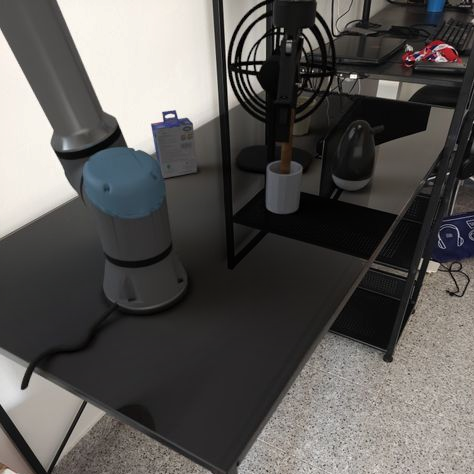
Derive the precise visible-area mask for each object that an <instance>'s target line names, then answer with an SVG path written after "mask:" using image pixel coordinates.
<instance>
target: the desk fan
mask: <svg viewBox="0 0 474 474" xmlns="http://www.w3.org/2000/svg"><path fill="white" fill-rule="evenodd" d="M274 1H275V0H262V1H260V2H258V3H257V4H255V5H254V6H253V7H252V8H251V9H249V10H248V11H247V12H246V13H245V14H244V15H243V16H242V17H241V19H240V20H239V22H238V23H237V25H236V27H235V29H234V31H233V33H232V35H231V38H230V41H229V45H228V50H227V61H226V66H227V75H228V80H229V84H230V87H231V90H232V92H233V94H234V96H235V98H236V100H237V102H238V103H239V105H240V106H241V107H242V108H243V109H244V111H245V112H247V113H248V114H249V115H250V116H251V117H253V118H254V119H255V120H258V121H259V122H261V123H263V124H266V125H267V127H268V128H267V144H255V145H248V146H246V147H243V148H242V149H240V151H239V152H238V154H237V156H236V158H235V164H236V166H237V167H239V168H241V169H243V170H246V171H249V172H257V173H267V166H268V165H269V164H270V163H272V162H275V161H281V150H282V145H276V143H277V142H275V134H276V117H277V106H273V101H276V100H277V92H278V82H279V72H280V55H281V52H280V43H281V36H282V38H283V37H285V31H286V30H285V29H284V28H283V31H281V30H282V28H277V27H275V26H273V27H272V28H270V29H268V30H267V31H266V32H265V33H264V34H263V35H262V36H261V37H260V38H259V39H257V40H256V42H254V44H253V45H252V47H251V48H250V50H249V52H248V55H247V57H246V60H243V61H242V57H243V51H244V46H245V42H246V40H247V38H248V36H249V34H250V32H251V30H252V29H253V28H254V27H255V26H256V25H257V24H258V23H259V22H261V21H262V20H264V19H267V18H270V17H273V9H270V10H267V11H266V12H264V13H262V14H261V15H259V16H258V17H257V18H256V19H255V20H254V21H252V22H251V23H250V24H249V25H248V26H247V27H246V28H245V30H244V31H243V33H242V34H241V36H240V38H239V40H238V43H237V44H236V45H237V46H236V49H235V53H234V60H233V62H232V59H233V57H232V56H233V50H234V45H235V41H236V38H237V36H238V34H239V31H240V30H241V28H242V26H244V23H245V22H246V21H247V19H249V17H250V16H251V15H252V14H253V13H255V12H256V11H257V10H259V9H261V8H262V7H265V6H267V5H270V4H273V2H274ZM316 19H317V20H318V22H319V23H320V24H321V26H322V28H323V29H324V31H325V34H326V36H327V39H328V42H329V46H330V53H331V65H329V64H328V51H327V45H326V42H325V39H324V36H323V34H322V32H321V29H320V28H319V26H318V25H317V24H316V23H315V24H314V26H313V27H311V28H308V29H309V31H310V32H311V34H312V35H313V36H314V38H315V40H316V42H317V44H318V47H319V52H320V57H321V63H315V55H314V50H313V46H312V44H311V41H310V40H309V38H308V36H306V34H305V33H304V31H303V32H302V38H304V41H306V43H307V45H308V47H309V51H310V57H311V62H310V61H309V57H308V54H307V51H306V49H305V47H304V46H303V49H302V54H303V55H304V58H305V62H304V61H300V68H301V67H302V68H306V72H305V73H303V72H302V73H301V72H300V76H299V77H302V79H305V81H304V83H303V84H302V86H301V87H298V97H301V95H302V94H303V92H304V90H305V88H306V86H307V84H308V83H309V81H310V79H319V83H318V85H317V88H316V90H315V91H314V92H313V93H312V94H311V96H310V97H309V99H308V100H307V101H306V102H305V103H303V104H302V105H300V106H298V107H297V108H296V115H297V114H299V113H301V112H302V111H304V110H305V109H306V108H307V107H308V106H309V105H310V104H311V103H312V102H313V100H316V98H317V96H318V94H319V93H320V90H321V88H322V86H323V83H324V80H325V78H329V80H328V84H327V86H326V88H325V91H324V93H323V95H322V96H321V97H320V99H319V101H318V102H316V104H315V105H314V107H313V108H312V109H311V110H310V111H309V112H307V113H306V114H304V115H303V116H301V117H299V118H296V119H295V120H294V124H295V123H298V122H300V121H302V120H304V119H306V118H307V117H309V116H310V115H311V114H312V115H313V114H314V113H315V112H316V111H317V110H318V109H319V108H320V106H321V105H322V104H323V103H324V101H325V100H326V98H327V97H328V94H329V92H330V90H331V88H332V85H333V82H334V79H335V76H336V75H337V73H338V68H336V67H337V64H336V63H337V53H336V44H335V40H334V37H333V34H332V32H331V29H330V28H329V25H328V23H327V22H326V20H325V18H324V17H323V16H322V15H321V13H320V12H319V11H318V10H317V9H316ZM275 30H276V31H275ZM271 36H275V45H274V49H273V51H272V52H271V55H270V56H268V57H267V58H266V59H264V60H256V59H257V52H258V49H259V46H260V45H261V42H262V41H263V40H264V39H266V38H268V37H271ZM253 51H254V52H253ZM252 53H253V59H252V60H250V59H251V56H252ZM249 66H253V70H250V69H249ZM257 66H260V67H259V71H258V70H257ZM243 67H245V69H244V68H243ZM314 69H319V70H321V72H313V71H314ZM233 73H234V75H233ZM244 75H245V77H244ZM249 76H254V77H255V78H256V80H257V82H258V84H259V85H260V87H261V89H262V90H263V91H264V92H266V93H267V94H268V96H269V97H268V101H266V100H264V99H263V98H262V97H260V96H259V95H258V94H257V93H256V91H255V89H254V88H253V85H252V83H251V81H250V77H249ZM245 78H246V81H245ZM234 79H235V80H234ZM246 82H247V83H246ZM247 85H248V86H247ZM248 87H249V88H248ZM298 97H297V98H298ZM282 98H284V97H282ZM253 103H254V104H255V105H254V104H253ZM263 110H264V111H263ZM312 115H311V116H312ZM311 160H312V154H311V153H310V152H309V151H307V150H305V149H302V148H298V147H294V146H292V154H291V161H293V162H297V163H299V164H300V165H301V166H302V167H303V170H302V173H303V172H305V171H306V170H308V168H309V166H310V163H311Z"/></svg>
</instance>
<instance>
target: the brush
mask: <svg viewBox="0 0 474 474" xmlns="http://www.w3.org/2000/svg"><path fill="white" fill-rule="evenodd" d="M294 113H295V110H294V109H292V113H291V125H290V138H289V143H281V146H282V150H281V167H280V174H283V175H288V174H290V168H291V154H292V147H293V138H294V135H293V127H294Z"/></svg>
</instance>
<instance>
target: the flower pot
mask: <svg viewBox="0 0 474 474" xmlns="http://www.w3.org/2000/svg"><path fill="white" fill-rule="evenodd" d="M309 98H310V97H308V96H299V97H298V98H297V107H298V106H300V105H302V104H303V103H305V102H306V101H307V100H308V99H309ZM316 104H317V100H316V99H314V100H313V102H312V103H311V104H310V105H309V106H308V107H307V108H306V109H305V110H304V111H302V112H301V113H299V114H297V115H296V118H299V117H301V116H303V115H304V114H306V113H307V112H309V111H310V110H311V109H312V108H313V107H314V106H315V105H316ZM312 115H313V113H312V114H311V115H310V116H309V117H307V118H306V119H304V120H302V121H300V122H298V123H295V124H294V127H293V136H304V135H305V134H308V133H309V129H310V124H311V123H310V122H311V118H312Z"/></svg>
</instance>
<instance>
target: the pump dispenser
mask: <svg viewBox="0 0 474 474" xmlns="http://www.w3.org/2000/svg"><path fill="white" fill-rule="evenodd" d="M384 130H385V126H384V125H383V124H382V125H379V126H375V127H371V125H370V124H369V122H367V121H366V120H363V119H357V120H354V121H353V122H351V124H349V125H348V127H347V128H346V129H345V131H344V133H343V134H342V136H341V138H340V140H339V143H338V145H337V146H336V150H335V152H334V154H333V155H334V156H333V159H332V163H331V168H330V171H331V175H332V180H333V182H334V184H335V185H336V186H337V187H338V188H340V189H342V190H344V191H348V192H349V191H350V192H352V191H358V190H361V189H363V188H364V187H366V185H368V183H370V180H371V178H372V177H373V176H374V173H375V167H376V142H375V137H374V135H376V134H378V133H380V132H383V131H384Z"/></svg>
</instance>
